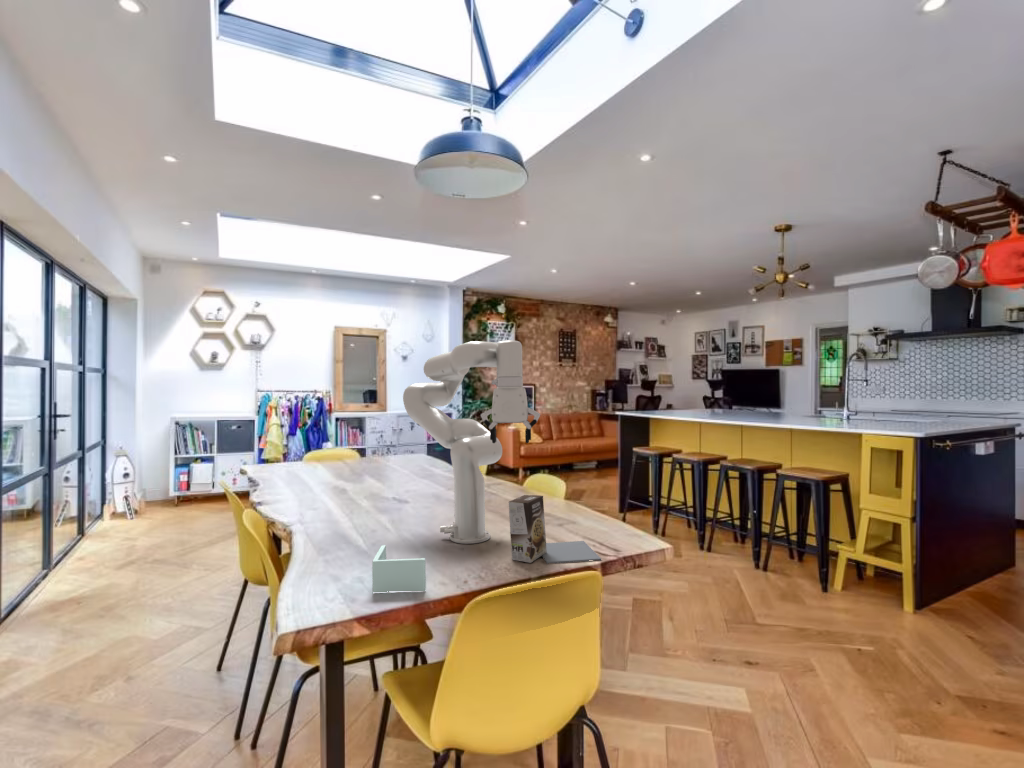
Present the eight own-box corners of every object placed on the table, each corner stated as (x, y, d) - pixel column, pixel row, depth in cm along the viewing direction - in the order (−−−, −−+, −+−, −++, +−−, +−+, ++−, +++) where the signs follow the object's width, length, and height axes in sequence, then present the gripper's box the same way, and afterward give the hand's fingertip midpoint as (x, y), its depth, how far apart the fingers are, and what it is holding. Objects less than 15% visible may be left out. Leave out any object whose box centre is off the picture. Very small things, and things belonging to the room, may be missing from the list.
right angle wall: (425, 591, 117) (424, 559, 117) (372, 594, 116) (372, 561, 116) (429, 572, 129) (429, 543, 129) (382, 574, 128) (381, 545, 128)
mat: (547, 564, 135) (547, 562, 135) (535, 545, 150) (534, 543, 150) (601, 560, 137) (601, 558, 137) (583, 542, 153) (583, 540, 153)
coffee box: (531, 563, 134) (527, 502, 134) (511, 560, 138) (507, 501, 138) (547, 552, 142) (543, 495, 142) (528, 549, 145) (524, 493, 145)
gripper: (477, 384, 144) (478, 444, 144) (538, 382, 141) (539, 444, 141) (482, 384, 151) (483, 441, 151) (540, 383, 149) (541, 441, 149)
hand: (510, 442), depth 146 cm, fingers open, 9 cm apart
